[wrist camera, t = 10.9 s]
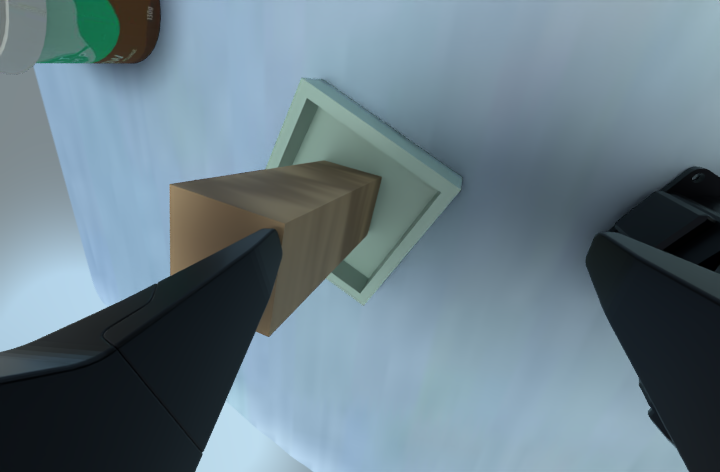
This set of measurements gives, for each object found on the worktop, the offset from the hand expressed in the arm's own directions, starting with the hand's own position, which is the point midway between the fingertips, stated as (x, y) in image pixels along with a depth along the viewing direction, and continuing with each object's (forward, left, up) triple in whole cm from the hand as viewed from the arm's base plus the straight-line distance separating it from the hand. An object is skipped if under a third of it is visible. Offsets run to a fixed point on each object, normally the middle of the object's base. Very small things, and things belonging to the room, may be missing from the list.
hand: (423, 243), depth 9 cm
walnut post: (+5, +6, -12) cm, 14 cm away
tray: (+5, +6, -13) cm, 15 cm away
